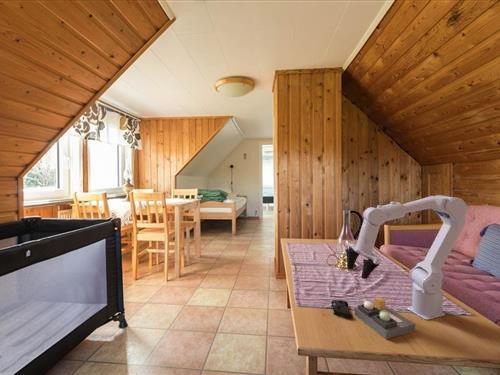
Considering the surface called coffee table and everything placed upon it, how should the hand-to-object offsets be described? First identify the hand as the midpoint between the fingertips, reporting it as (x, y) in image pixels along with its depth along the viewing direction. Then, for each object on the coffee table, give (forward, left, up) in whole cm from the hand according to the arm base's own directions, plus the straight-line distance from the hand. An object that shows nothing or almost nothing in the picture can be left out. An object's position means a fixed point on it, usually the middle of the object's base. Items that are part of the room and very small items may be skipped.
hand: (356, 273), depth 93 cm
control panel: (-3, +10, -14) cm, 17 cm away
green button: (0, +13, -10) cm, 17 cm away
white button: (0, +6, -10) cm, 12 cm away
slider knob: (-6, +6, -11) cm, 14 cm away
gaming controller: (+6, -1, -15) cm, 16 cm away
